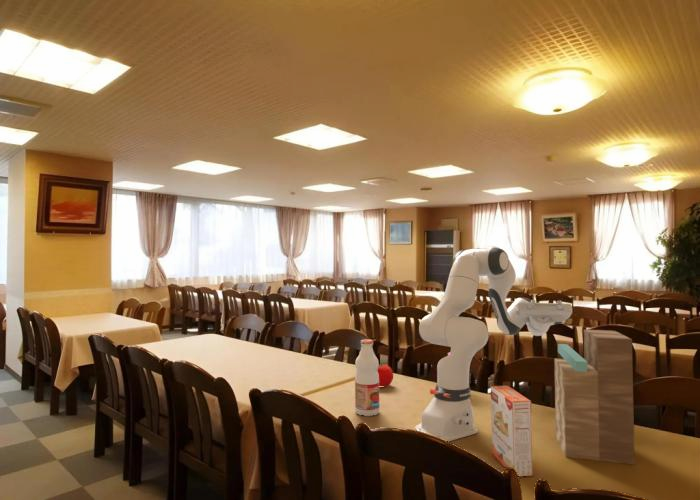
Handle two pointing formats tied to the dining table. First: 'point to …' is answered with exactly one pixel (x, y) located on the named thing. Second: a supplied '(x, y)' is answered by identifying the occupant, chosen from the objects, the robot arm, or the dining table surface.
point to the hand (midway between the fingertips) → (546, 301)
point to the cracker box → (512, 429)
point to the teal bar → (572, 358)
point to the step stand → (597, 400)
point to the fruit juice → (367, 381)
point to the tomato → (385, 375)
